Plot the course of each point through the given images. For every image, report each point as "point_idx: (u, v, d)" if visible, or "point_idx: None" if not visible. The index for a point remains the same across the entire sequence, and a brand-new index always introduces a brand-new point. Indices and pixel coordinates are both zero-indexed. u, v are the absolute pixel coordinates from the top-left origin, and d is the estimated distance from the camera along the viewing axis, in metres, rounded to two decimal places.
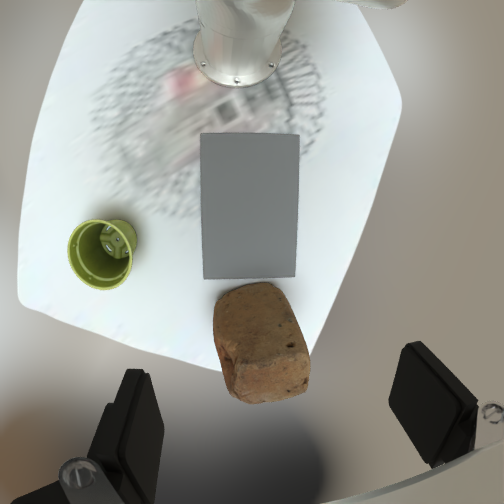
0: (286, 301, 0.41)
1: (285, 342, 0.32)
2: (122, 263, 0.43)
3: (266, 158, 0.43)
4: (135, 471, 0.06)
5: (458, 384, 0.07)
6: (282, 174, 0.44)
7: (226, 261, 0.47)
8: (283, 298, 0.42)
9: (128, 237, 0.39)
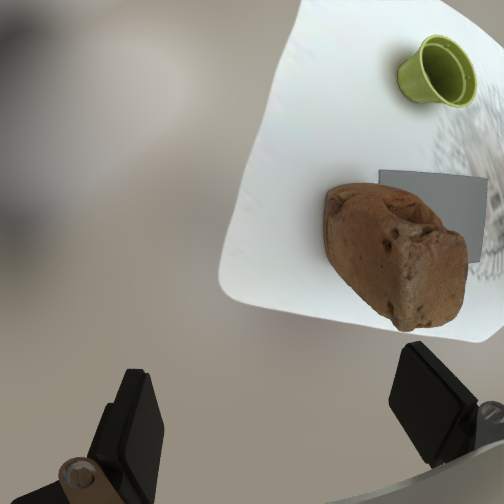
0: None
1: None
2: (407, 82, 0.32)
3: (469, 235, 0.41)
4: (135, 471, 0.06)
5: (458, 384, 0.07)
6: None
7: None
8: None
9: None
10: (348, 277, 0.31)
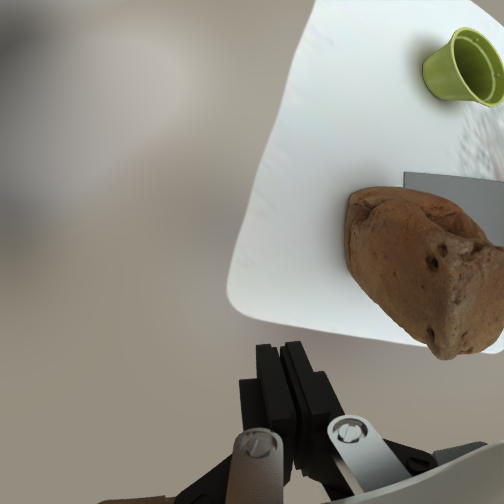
0: None
1: None
2: (434, 78, 0.27)
3: None
4: None
5: (315, 390, 0.08)
6: None
7: None
8: None
9: None
10: (375, 294, 0.27)
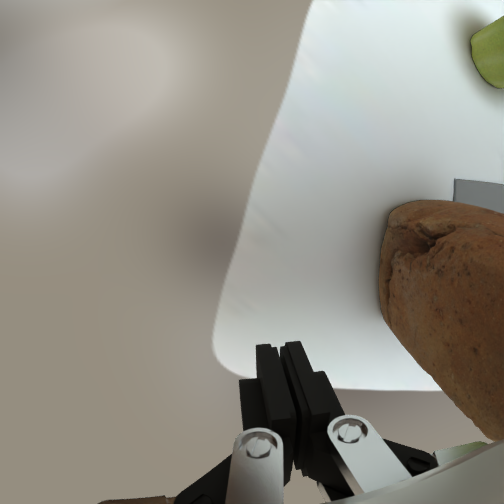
0: None
1: None
2: (489, 57, 0.17)
3: None
4: None
5: (315, 390, 0.08)
6: None
7: None
8: None
9: None
10: (431, 364, 0.16)
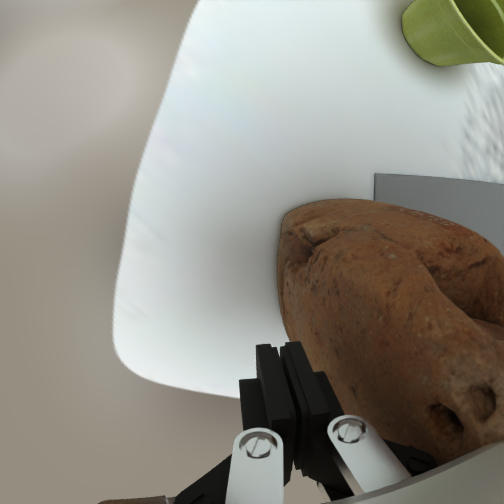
0: None
1: None
2: (418, 29, 0.16)
3: None
4: None
5: (315, 390, 0.08)
6: None
7: None
8: None
9: None
10: None
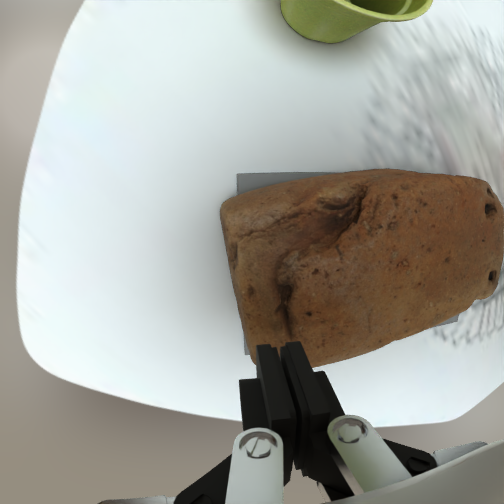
0: None
1: None
2: (288, 3, 0.15)
3: None
4: None
5: (315, 390, 0.08)
6: None
7: None
8: None
9: (372, 24, 0.14)
10: (401, 324, 0.17)
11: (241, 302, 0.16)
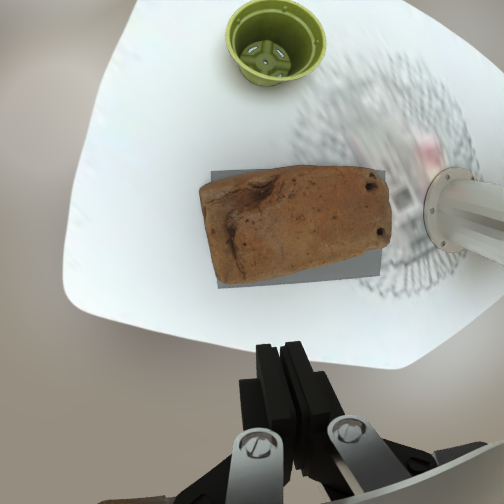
0: None
1: None
2: (240, 65, 0.29)
3: None
4: None
5: (315, 390, 0.08)
6: (340, 261, 0.39)
7: None
8: None
9: None
10: (305, 256, 0.30)
11: (208, 238, 0.29)
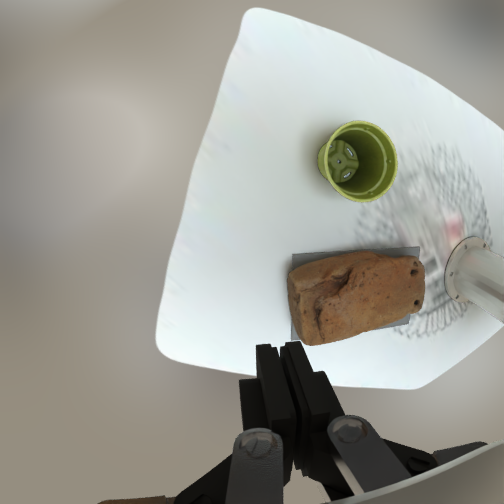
0: None
1: None
2: (322, 169, 0.39)
3: None
4: None
5: (315, 390, 0.08)
6: None
7: None
8: None
9: (363, 188, 0.37)
10: (366, 324, 0.40)
11: (300, 316, 0.39)
